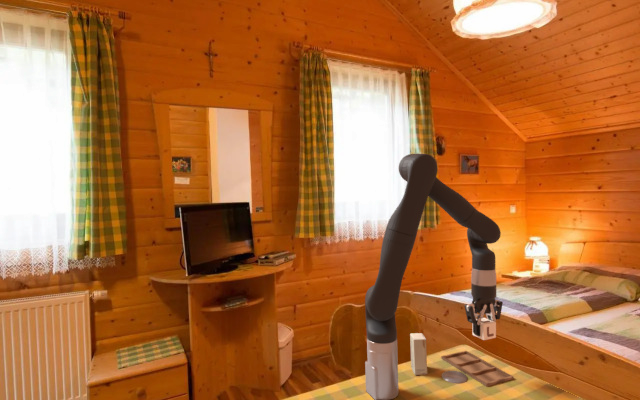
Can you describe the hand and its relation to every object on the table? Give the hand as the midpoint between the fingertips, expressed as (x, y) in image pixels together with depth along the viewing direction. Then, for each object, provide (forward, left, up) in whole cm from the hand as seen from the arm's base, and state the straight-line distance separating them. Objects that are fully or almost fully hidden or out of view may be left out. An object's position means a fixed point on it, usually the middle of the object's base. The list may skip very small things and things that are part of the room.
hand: (483, 333), depth 128 cm
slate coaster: (-9, +4, -15) cm, 18 cm away
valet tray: (+2, +6, -15) cm, 16 cm away
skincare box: (-16, +13, -15) cm, 26 cm away
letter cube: (0, 0, -1) cm, 1 cm away
